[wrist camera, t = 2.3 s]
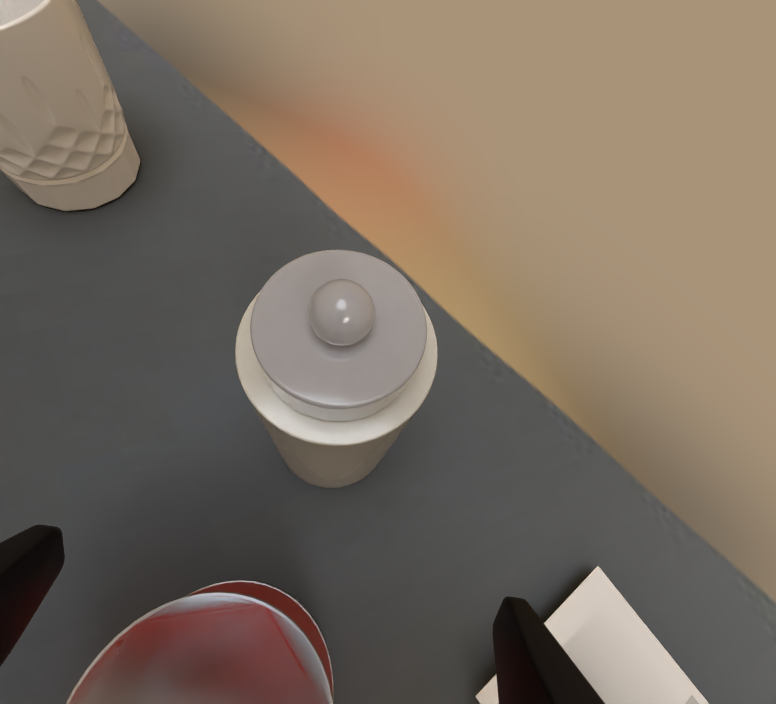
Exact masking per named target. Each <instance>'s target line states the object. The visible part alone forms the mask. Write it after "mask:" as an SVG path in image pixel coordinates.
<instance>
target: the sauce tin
mask: <svg viewBox="0 0 776 704" xmlns="http://www.w3.org/2000/svg"><path fill="white" fill-rule="evenodd" d="M333 699H334V680H333V671H332V663H331V659H330V654H329V650H328V647H327V644H326V642H325V639H324V636H323V634H322V632H321V630H320V628H319V626H318V624H317V622H316V621H315V620H314V618H313V617H312V615H311V614H310V612H309V611H308V610H307V609H306V608H305V607H304V606H303V605H302V604H301V603H300V602H299V601H298V600H297V599H295V598H294V597H293V596H292V595H290V594H289V593H287V592H285V591H284V590H282V589H280V588H278V587H276V586H273V585H270V584H268V583H264V582H259V581H255V580H228V581H224V582H219V583H215V584H212V585H209V586H206V587H203V588H201V589H199V590H197V591H194V592H192V593H190V594H188V595H187V596H185V597H182V598H179V599H176V600H173V601H170V602H168V603H166V604H164V605H162V606H160V607H158V608H156V609H154V610H152V611H150V612H148V613H147V614H145V615H143V616H142V617H140V618H139V619H137V620H136V621H134V622H133V623H131V624H130V625H129V626H128V627H127V628H125V629H124V630H123V631H122V632H120V633H119V634H118V635H117V636H116V637H115V638H114V639H113V640H112V641H111V642H110V643H109V644H108V645H107V646H106V647H105V648H104V649H103V650H102V651H101V652H100V653H99V654H98V656H97V657H96V658H95V659H94V660H93V662H92V663H91V664H90V665H89V666H88V668H87V669H86V671H85V672H84V674H83V675H82V677H81V678H80V680H79V681H78V683H77V684H76V686H75V687H74V689H73V691H72V693H71V694H70V696H69V698H68V700H67V702H66V704H334V701H333Z"/></svg>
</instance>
